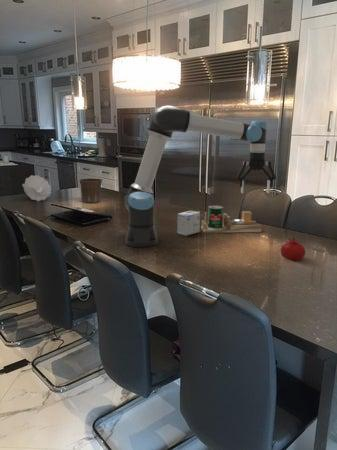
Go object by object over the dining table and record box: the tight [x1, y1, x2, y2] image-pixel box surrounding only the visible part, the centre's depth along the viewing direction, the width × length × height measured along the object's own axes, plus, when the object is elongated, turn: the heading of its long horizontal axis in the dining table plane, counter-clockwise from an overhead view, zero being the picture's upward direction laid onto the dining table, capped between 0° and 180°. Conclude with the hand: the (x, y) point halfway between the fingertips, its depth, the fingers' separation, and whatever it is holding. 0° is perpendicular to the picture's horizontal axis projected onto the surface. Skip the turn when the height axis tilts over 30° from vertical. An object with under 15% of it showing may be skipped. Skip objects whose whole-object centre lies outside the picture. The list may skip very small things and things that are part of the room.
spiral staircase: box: [21, 174, 52, 202], centre depth 276 cm, size 18×18×25 cm
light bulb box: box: [177, 210, 201, 236], centre depth 192 cm, size 11×7×11 cm, turn 135°
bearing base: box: [201, 212, 262, 234], centre depth 199 cm, size 10×30×8 cm, turn 96°
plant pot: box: [78, 178, 103, 204], centre depth 268 cm, size 16×16×16 cm
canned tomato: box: [207, 204, 224, 229], centre depth 197 cm, size 8×8×11 cm
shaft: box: [232, 210, 253, 225], centre depth 199 cm, size 4×9×8 cm, turn 96°
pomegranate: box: [280, 236, 306, 262], centre depth 156 cm, size 10×10×9 cm
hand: (255, 192), depth 196 cm, fingers open, 13 cm apart
